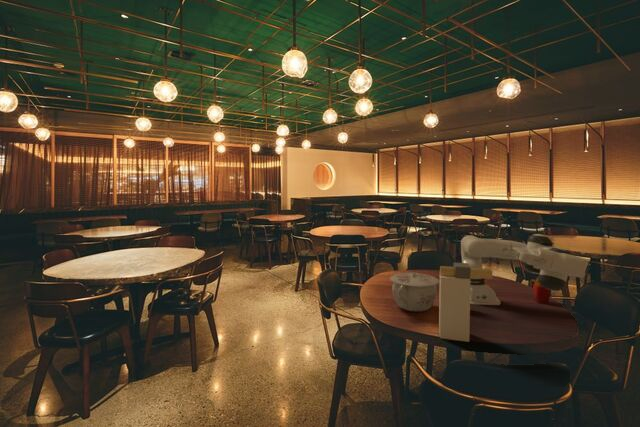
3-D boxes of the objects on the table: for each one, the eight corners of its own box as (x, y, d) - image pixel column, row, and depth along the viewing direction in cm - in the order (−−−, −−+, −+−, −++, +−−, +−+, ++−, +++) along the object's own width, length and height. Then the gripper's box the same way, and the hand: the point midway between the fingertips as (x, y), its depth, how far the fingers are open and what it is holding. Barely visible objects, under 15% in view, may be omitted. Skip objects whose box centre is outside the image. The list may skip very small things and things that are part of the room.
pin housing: (466, 332, 144) (467, 262, 142) (469, 341, 135) (470, 267, 133) (439, 328, 148) (439, 261, 146) (440, 338, 138) (440, 266, 136)
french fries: (550, 304, 179) (551, 279, 178) (535, 303, 180) (535, 278, 179) (543, 299, 187) (543, 275, 186) (528, 298, 189) (528, 274, 188)
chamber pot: (423, 298, 192) (424, 265, 191) (449, 314, 165) (450, 277, 164) (381, 301, 187) (381, 267, 186) (400, 319, 160) (401, 280, 159)
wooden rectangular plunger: (490, 276, 137) (490, 268, 136) (492, 279, 133) (492, 271, 133) (440, 273, 143) (440, 265, 143) (440, 275, 140) (440, 267, 139)
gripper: (546, 270, 120) (506, 261, 126) (533, 262, 139) (499, 254, 144) (550, 255, 120) (510, 246, 125) (536, 248, 139) (502, 241, 144)
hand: (504, 250), depth 135 cm, fingers open, 8 cm apart
